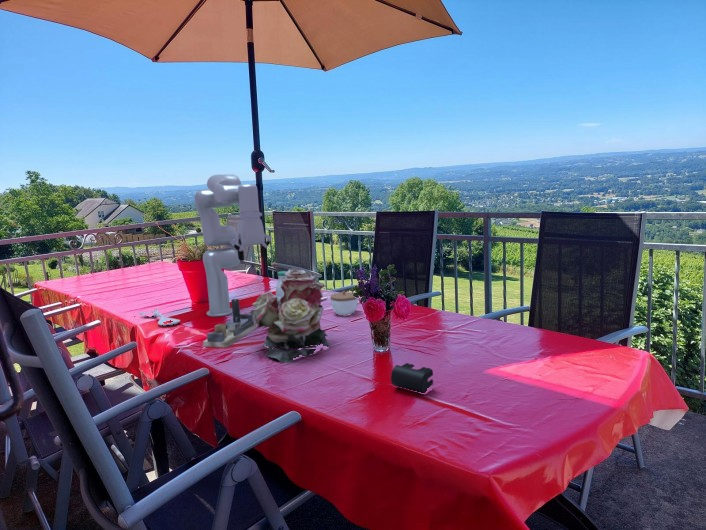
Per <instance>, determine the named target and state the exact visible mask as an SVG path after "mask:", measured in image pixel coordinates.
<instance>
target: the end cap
mask: <svg viewBox="0 0 706 530" xmlns="http://www.w3.org/2000/svg"><path fill="white" fill-rule="evenodd" d="M414 367H415V364H413V363H408V362H405V363H404V364H402V365H398V364H396V365H394V367H393V368H392V371H391V374H390V381H391V384H392V386H394V387H395V386H398V387H402V388H406V389H409V390H413V391H417V392H421V393H425V392H426V391H427V388H429V387H431V386H433V384H434V379H430V380H429V378H431V377H433V376H434V373H433V371H434V370H433V369H432V368H430V367H425V366H422V367H420V368H419V369H415V368H414ZM428 380H429V381H428Z"/></svg>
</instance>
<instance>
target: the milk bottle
mask: <svg viewBox="0 0 706 530" xmlns="http://www.w3.org/2000/svg"><path fill="white" fill-rule="evenodd" d="M287 271H288V270H287ZM287 271H286V270H281V271H278V272H277V277H278V279H277V283H276V286H275V296H278V297H283V296H284V291H283V290H282V288H281V284H282V280H284V279H286V275H285V272H287Z"/></svg>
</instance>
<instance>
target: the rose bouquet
mask: <svg viewBox="0 0 706 530" xmlns="http://www.w3.org/2000/svg"><path fill="white" fill-rule="evenodd" d="M285 275H286V279H284V280H282V284H281V288H282V290H283V291H284V296H283V297H278V296H276V294H273V293H272V291H271V290H268V291H265V292H263V293H261V294H260V296H258V297H257V299H256V300H255V302H253V303H252V304H251V305H252V306H253V307H254V308H253V309H252V310H251V311H250V312H249V314H250V315H253V321H254V323H255V324H256V329H260V328H261V329H265V328H267V329H266V330H265V332H267V336H266V337H265V340H264V341H263V343H262V346H263V348H262V347H261V349H263V350H267V352H265V353H264V355H265V356H266V357H268V358H272V359H273V358H274V359H276V360H278V361H279V362H280V363H281V364H285V363H292V362H295V361H297V360H293V358H296V357H299V355H302V356H307V357H309V356H308V355H310V354H313V353H314V351H315V350H316V349H305V348H306V347H305V346H310V345H317V346H318V345H320V344H321V343H322V344H323V346H327V347H328V346H329V347H330V343H329V341H328V339H327V337H328V334H326V330H325V329H323V330H322V328H321V327H322V325H321V318H322V315H323V311H324V308H323V305H322V303H321V302H326V301H327V300H328V299H329V298H327V297H326V298H324V292H322V291H321V290H322V289H323V288H326V286H327V285H325V283H323V282H319V281H317V280H316V277H317V276H318V273H314V275H313V274H312V273H311V272H309V271H305V270H303V269H298V268H295V267H293V268H289V269H287V272H285ZM322 298H324V299H322ZM319 342H321V343H319ZM264 346H268V347H269V348H267V347H265V348H264ZM273 347H274V348H273ZM275 347H276V348H275ZM281 347H285V348H283V349H281ZM302 347H304V348H303V349H301V350H296V348H298V349H299V348H302ZM310 347H311V346H310ZM272 348H273V349H272ZM288 348H289V349H288ZM290 348H293V349H290Z"/></svg>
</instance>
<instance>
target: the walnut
mask: <svg viewBox="0 0 706 530" xmlns="http://www.w3.org/2000/svg"><path fill="white" fill-rule="evenodd" d="M225 324H226V323H218V324H216V325H214V331H215V332H218V333H224V337H225V338H227V335H226V325H225Z"/></svg>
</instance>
